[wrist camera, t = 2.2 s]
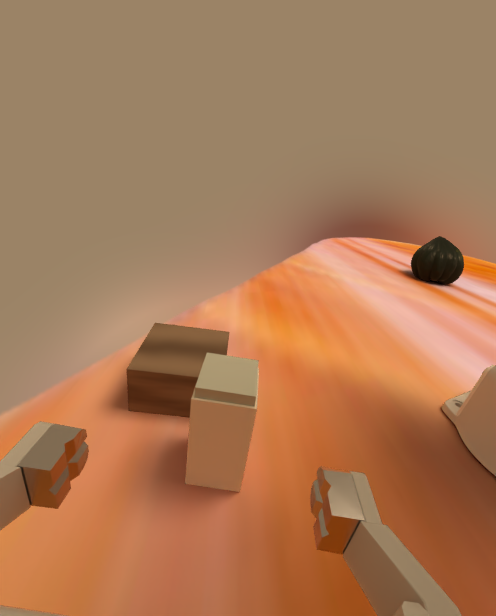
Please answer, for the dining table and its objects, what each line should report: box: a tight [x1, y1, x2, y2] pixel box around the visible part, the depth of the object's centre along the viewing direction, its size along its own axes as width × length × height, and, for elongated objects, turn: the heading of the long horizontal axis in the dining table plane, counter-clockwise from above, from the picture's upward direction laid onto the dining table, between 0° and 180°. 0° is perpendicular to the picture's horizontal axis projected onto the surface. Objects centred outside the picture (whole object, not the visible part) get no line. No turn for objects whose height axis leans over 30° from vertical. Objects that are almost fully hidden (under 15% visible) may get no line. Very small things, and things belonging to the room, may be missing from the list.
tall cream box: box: [185, 353, 259, 492], centre depth 26 cm, size 5×5×11 cm
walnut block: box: [127, 323, 229, 417], centre depth 36 cm, size 10×10×6 cm
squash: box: [411, 236, 464, 284], centre depth 99 cm, size 14×15×15 cm
